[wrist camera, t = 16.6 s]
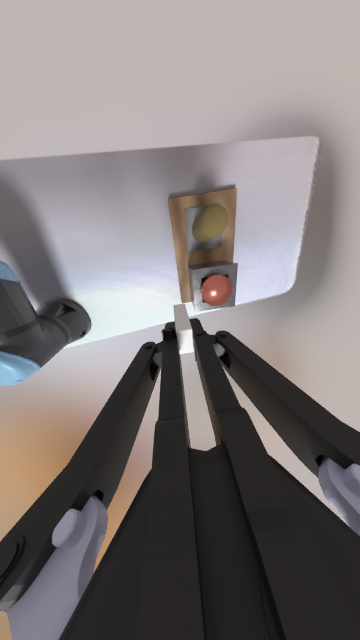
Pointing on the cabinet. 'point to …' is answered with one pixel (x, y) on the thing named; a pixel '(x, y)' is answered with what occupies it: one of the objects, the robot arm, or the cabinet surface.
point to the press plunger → (216, 289)
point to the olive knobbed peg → (210, 223)
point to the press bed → (186, 245)
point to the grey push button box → (207, 270)
